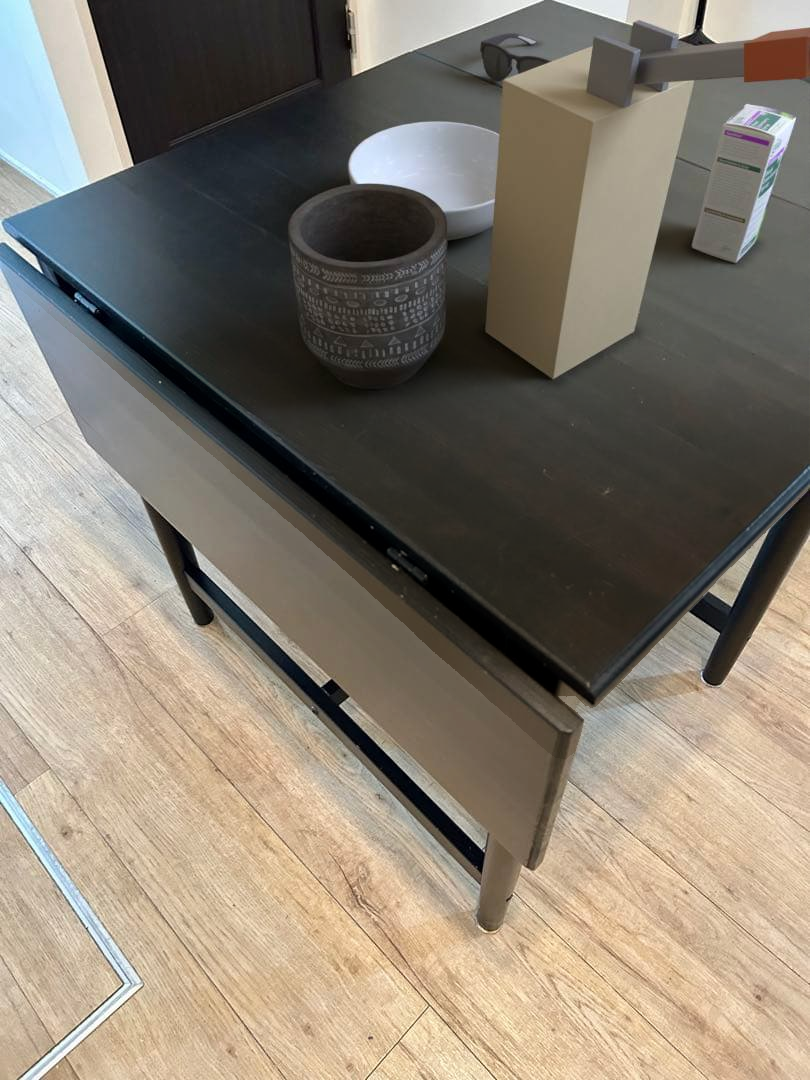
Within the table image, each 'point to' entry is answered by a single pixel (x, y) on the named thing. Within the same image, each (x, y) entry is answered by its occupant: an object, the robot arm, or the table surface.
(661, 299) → the table surface
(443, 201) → the serving bowl
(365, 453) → the table surface
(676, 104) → the lever stand
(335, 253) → the planter
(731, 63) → the lever
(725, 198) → the syrup box
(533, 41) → the sunglasses
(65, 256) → the table surface
